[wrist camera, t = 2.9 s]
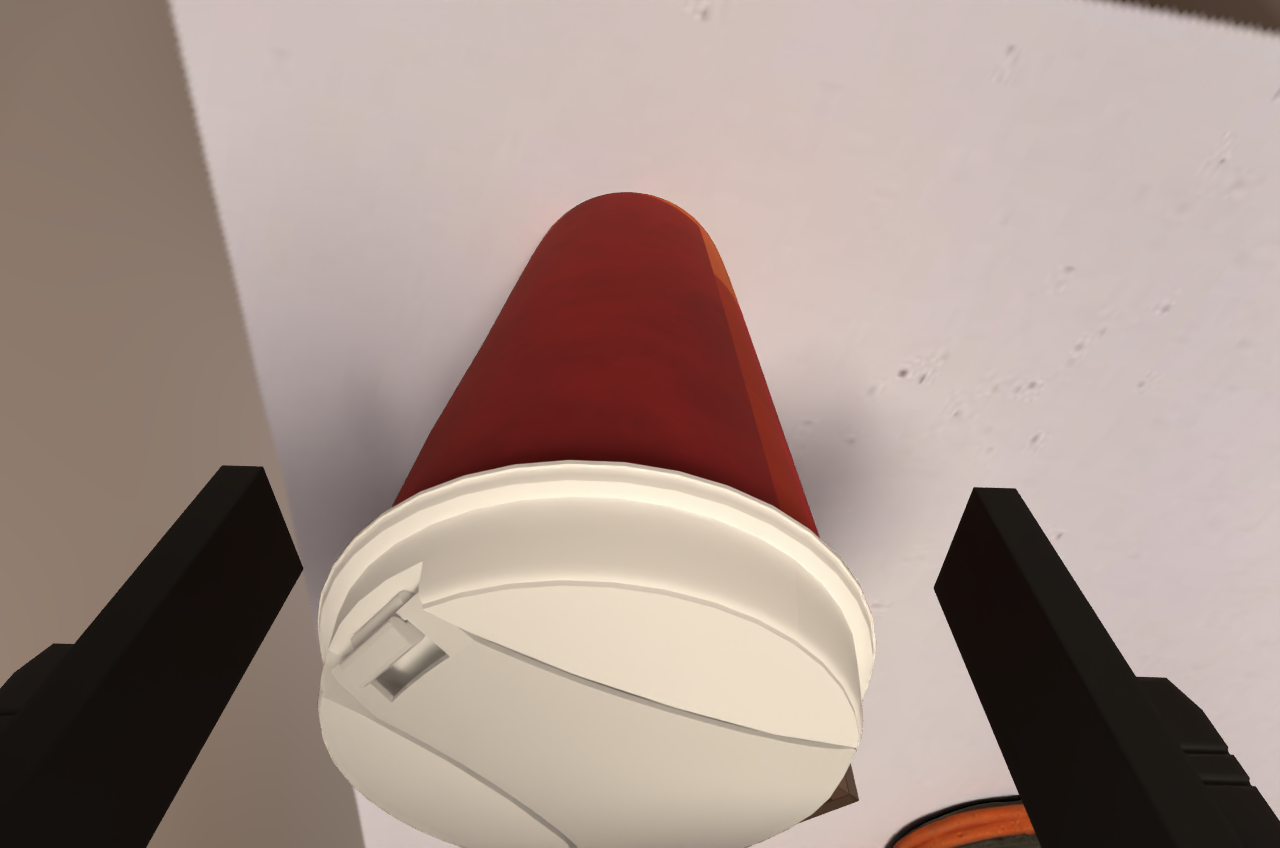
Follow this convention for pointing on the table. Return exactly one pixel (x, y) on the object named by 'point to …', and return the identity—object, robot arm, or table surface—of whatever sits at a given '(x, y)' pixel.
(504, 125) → the table surface
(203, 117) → the table surface
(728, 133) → the table surface
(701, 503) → the coffee cup
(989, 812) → the beer stein
